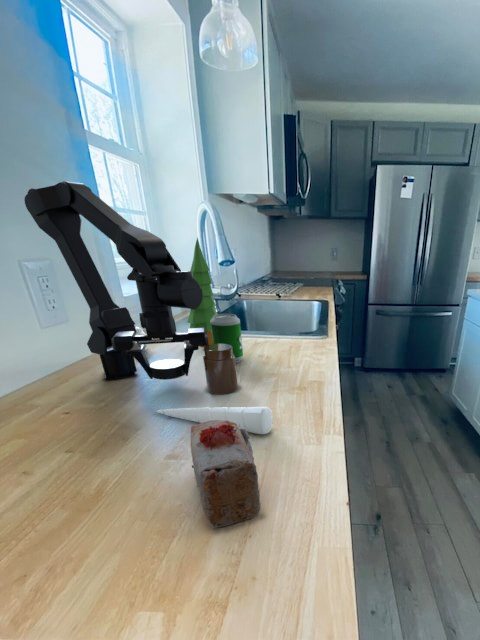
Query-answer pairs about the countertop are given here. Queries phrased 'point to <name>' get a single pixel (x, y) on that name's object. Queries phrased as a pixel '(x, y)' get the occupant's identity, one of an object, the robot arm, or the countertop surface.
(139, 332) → the garlic bulb
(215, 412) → the unicorn horn
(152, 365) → the jar lid
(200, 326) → the decorative tree
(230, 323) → the soda can
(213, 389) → the coffee jar
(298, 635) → the countertop surface
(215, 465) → the food item
